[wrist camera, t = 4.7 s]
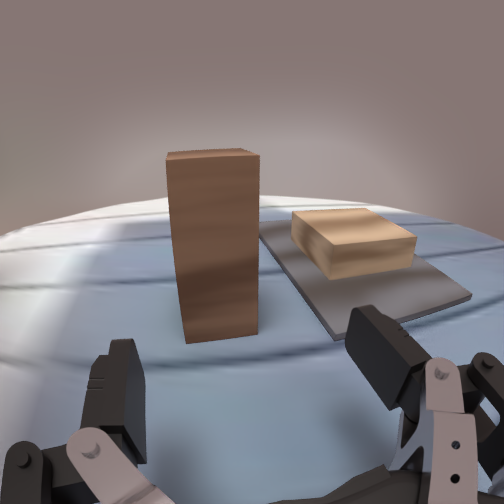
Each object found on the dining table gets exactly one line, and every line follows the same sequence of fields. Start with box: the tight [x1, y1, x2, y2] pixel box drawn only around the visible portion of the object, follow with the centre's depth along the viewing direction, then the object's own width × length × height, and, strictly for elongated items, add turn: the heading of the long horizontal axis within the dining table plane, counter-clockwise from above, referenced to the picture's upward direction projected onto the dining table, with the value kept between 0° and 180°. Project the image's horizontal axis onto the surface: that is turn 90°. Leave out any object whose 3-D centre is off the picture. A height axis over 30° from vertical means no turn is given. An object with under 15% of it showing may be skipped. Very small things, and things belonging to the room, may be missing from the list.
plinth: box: [259, 208, 472, 341], centre depth 31 cm, size 24×16×4 cm, turn 14°
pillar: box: [166, 148, 260, 344], centre depth 20 cm, size 5×5×12 cm
